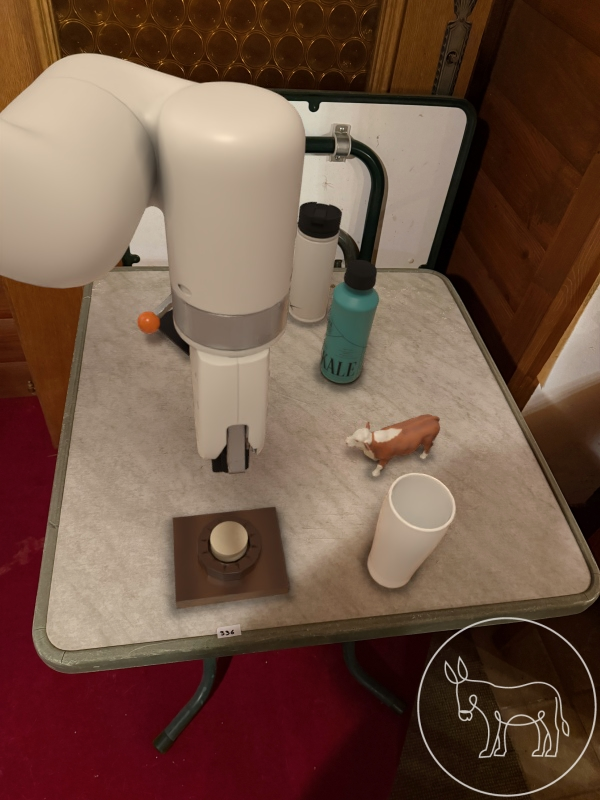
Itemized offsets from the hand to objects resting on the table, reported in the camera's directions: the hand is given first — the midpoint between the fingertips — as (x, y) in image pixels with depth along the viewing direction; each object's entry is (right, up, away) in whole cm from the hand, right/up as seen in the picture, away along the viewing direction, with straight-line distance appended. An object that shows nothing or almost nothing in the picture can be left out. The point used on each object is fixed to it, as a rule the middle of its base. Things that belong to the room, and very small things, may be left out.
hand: (229, 463), depth 50 cm
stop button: (-1, -10, +12) cm, 16 cm away
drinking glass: (+17, -14, +16) cm, 27 cm away
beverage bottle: (+12, +9, +36) cm, 39 cm away
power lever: (-12, +20, +33) cm, 40 cm away
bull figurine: (+18, -3, +26) cm, 32 cm away
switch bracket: (-10, +17, +40) cm, 45 cm away
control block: (-2, -13, +14) cm, 19 cm away
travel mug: (+7, +20, +44) cm, 49 cm away
